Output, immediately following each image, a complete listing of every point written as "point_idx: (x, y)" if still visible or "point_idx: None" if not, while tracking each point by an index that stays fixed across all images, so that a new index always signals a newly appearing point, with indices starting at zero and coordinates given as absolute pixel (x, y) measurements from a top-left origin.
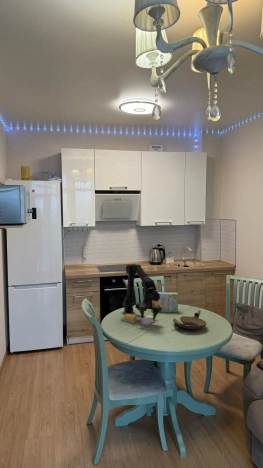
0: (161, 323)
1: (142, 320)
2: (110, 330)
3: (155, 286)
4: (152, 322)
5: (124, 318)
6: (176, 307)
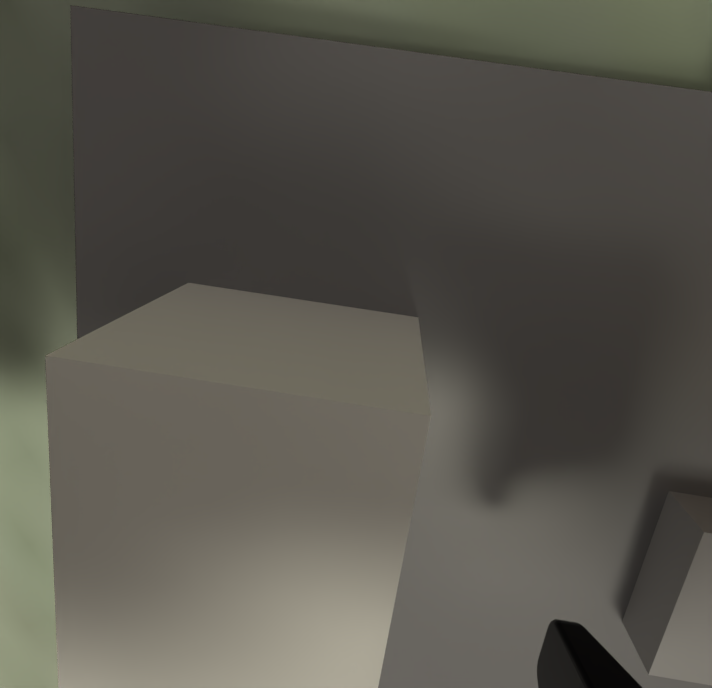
0: (37, 683)
1: (567, 613)
2: None
3: None
4: None
5: None
6: None
